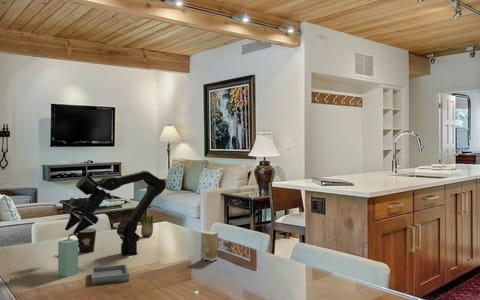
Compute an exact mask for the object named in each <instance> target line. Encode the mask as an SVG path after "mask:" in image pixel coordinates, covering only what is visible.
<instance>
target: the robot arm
mask: <svg viewBox="0 0 480 300" xmlns="http://www.w3.org/2000/svg"><path fill="white" fill-rule="evenodd" d="M140 181H144V183H145V184H147V187H146V191H145V194H144V195H143V196H142V198H141V199H140V200H139V202H138V203H137V205H136V206H135V207H134V210H133V211H132V212H131V214H130V216H129V217H128V218H126V219H125V218H122V219H121V221H120V222H119V224H118V225H117V224H116V225H117V228H116V233H117V234H116V235H118V236H119V238H120V240H121V241H122V243H120V254H122V256H134V255H138V250H137V249H138V243H137V242H139V240H140V238H141V237H140V235H139V234H138V233H137V229H138V224H139V222H140V220H142V216H144V214H145V213H146V211H147V209H148V208H149V207H150V205H151V204H152V202H153V201H154V200H155V198H157V197H158V196H159V195H160V194H162V193H163V191H165V190H166V187H167V183H166V181H165V180H164V179H160V178H159V177H157V176H156V175H154V174H152V173H151V172H150V171H147V170H141V171H138V172H134V173H129V174H124V175H121V176H104V177H102V178H101V179H100V180H97V181H95V180H94V179H93V178H92V177H91V176H90V175H89V174H88V175H87V174H86V175H85V176H84V177H82V178H81V179H79V180H78V181H77V183H76V184H75V188H77V189H78V190H79V191H80V192H82V193H83V194H84V195H86V196H88V198H83V197H82V198H81V197H78V198H74V197H70V199H69V201H68V205H69V206H70V207H69V209H68V214H69V218H68V221H67V223H66V226H65V228H64V230H65V231H68V230H70V229H72V228H73V227H74V226H76V225H77V226H76V227H75V228H74V230H73V232H72V234H77V233H78V232H80V231H82V230H84V229H86V228H90V227H91V226H94V225H96V224H97V223H98V222H99V217H98V216H97V215H95V214H94V213H95V212H96V210H100V205H101V204H102V203H103V202H104V200H106V199H108V200H112V198H111V197H112V196H111V192H112V191H114V190H117V189H119V188H120V187H122V186H125V185H129V184H132V183H137V182H140ZM100 188H101V189H100ZM105 190H106V191H105ZM107 191H108V192H107ZM109 191H110V192H109Z"/></svg>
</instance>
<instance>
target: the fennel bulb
mask: <svg viewBox="0 0 480 300" xmlns="http://www.w3.org/2000/svg"><path fill="white" fill-rule="evenodd" d="M141 223H142V224H141V227H140V229H141V230H140V233H141V236H142V237H143V236H144V237H145V238H150V237H152V235H153V233H154V215H150V214H149V215H146V214H145V215H143V216H142V217H141ZM149 236H150V237H149Z"/></svg>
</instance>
